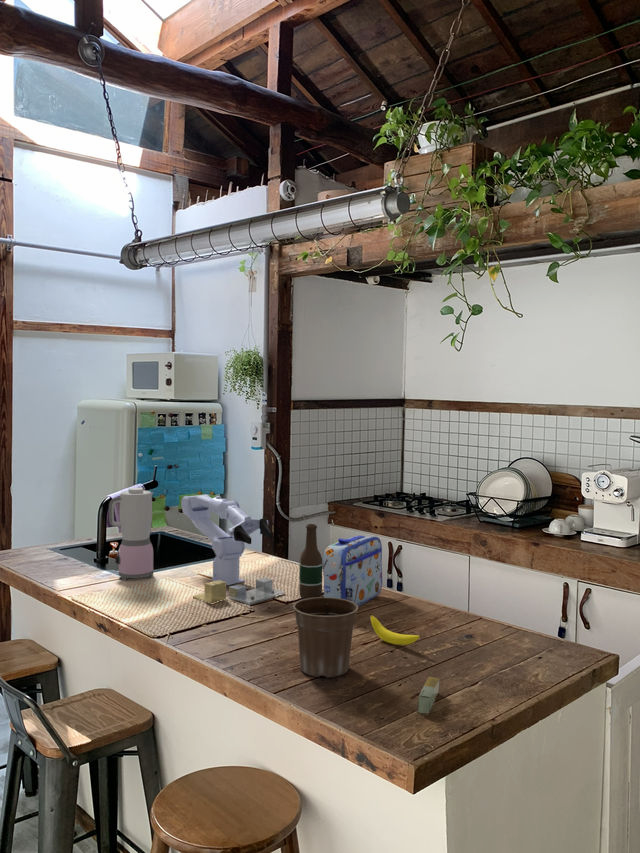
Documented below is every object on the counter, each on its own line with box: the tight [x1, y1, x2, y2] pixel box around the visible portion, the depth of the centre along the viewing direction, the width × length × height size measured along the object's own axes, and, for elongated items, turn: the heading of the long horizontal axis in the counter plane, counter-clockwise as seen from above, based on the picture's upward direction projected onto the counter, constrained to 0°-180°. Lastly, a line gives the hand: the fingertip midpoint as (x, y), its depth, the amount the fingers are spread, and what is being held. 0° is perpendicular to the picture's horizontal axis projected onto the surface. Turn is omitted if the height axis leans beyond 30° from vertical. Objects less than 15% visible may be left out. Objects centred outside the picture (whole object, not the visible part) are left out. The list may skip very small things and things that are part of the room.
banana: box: [368, 613, 421, 646], centre depth 205 cm, size 3×19×6 cm, turn 41°
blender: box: [108, 487, 155, 582], centre depth 267 cm, size 16×12×32 cm
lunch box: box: [322, 535, 383, 607], centre depth 241 cm, size 28×10×22 cm, turn 149°
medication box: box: [417, 676, 440, 714], centre depth 168 cm, size 12×3×4 cm, turn 161°
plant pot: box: [292, 596, 359, 678], centre depth 186 cm, size 16×16×16 cm
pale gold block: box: [192, 580, 227, 604], centre depth 244 cm, size 10×6×6 cm, turn 48°
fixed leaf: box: [228, 577, 286, 606], centre depth 247 cm, size 10×16×4 cm, turn 138°
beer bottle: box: [298, 523, 323, 599], centre depth 248 cm, size 8×8×24 cm
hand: (260, 538), depth 246 cm, fingers open, 7 cm apart
